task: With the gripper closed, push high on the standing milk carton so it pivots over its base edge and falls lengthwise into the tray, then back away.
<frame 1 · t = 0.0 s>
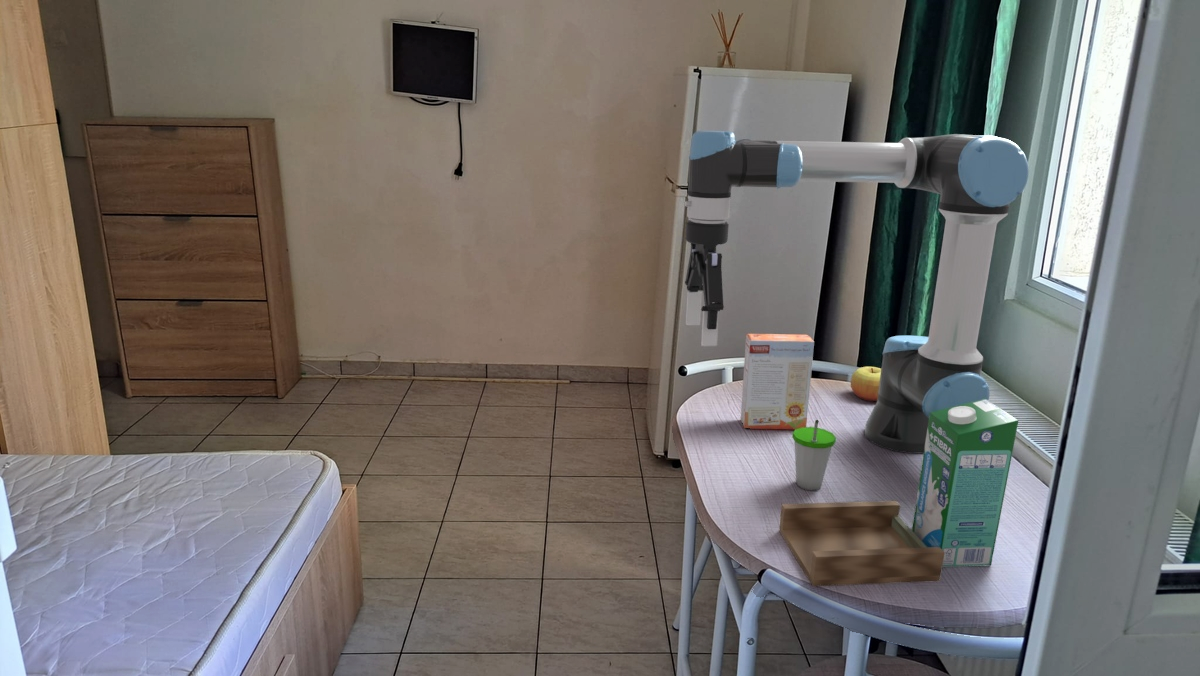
hand: (700, 334, 145), 28 cm above the table, fingers open, 13 cm apart
cup: (808, 485, 149), on the table
apple: (869, 398, 195), on the table
cracker box: (772, 425, 177), on the table
milk carton: (949, 552, 127), on the table
tray: (855, 554, 126), on the table
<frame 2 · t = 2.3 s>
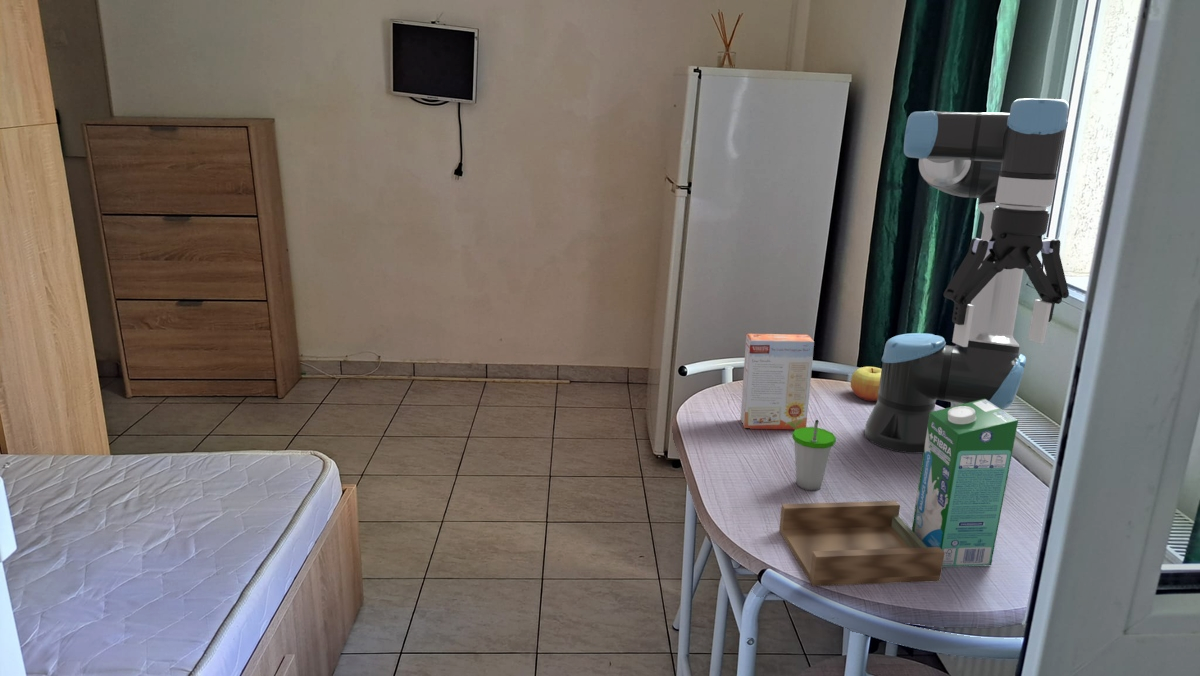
hand: (998, 343, 122), 34 cm above the table, fingers open, 13 cm apart
nothing on the table moved.
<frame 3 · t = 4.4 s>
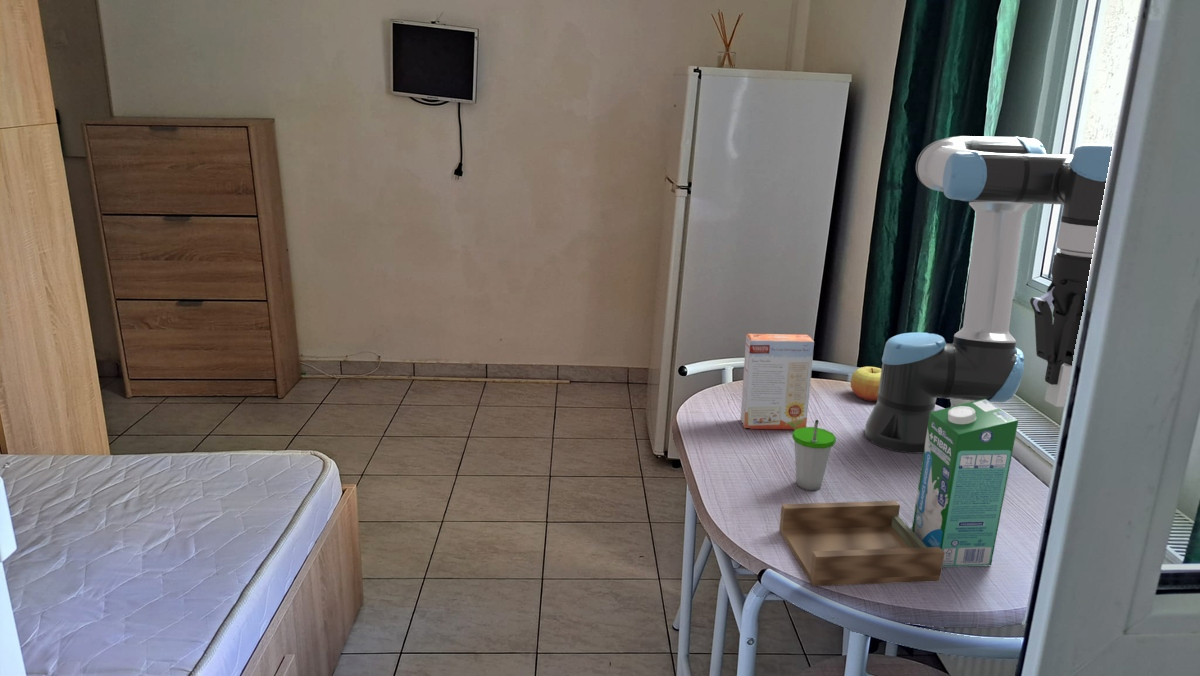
hand: (1054, 403, 121), 26 cm above the table, fingers closed
nothing on the table moved.
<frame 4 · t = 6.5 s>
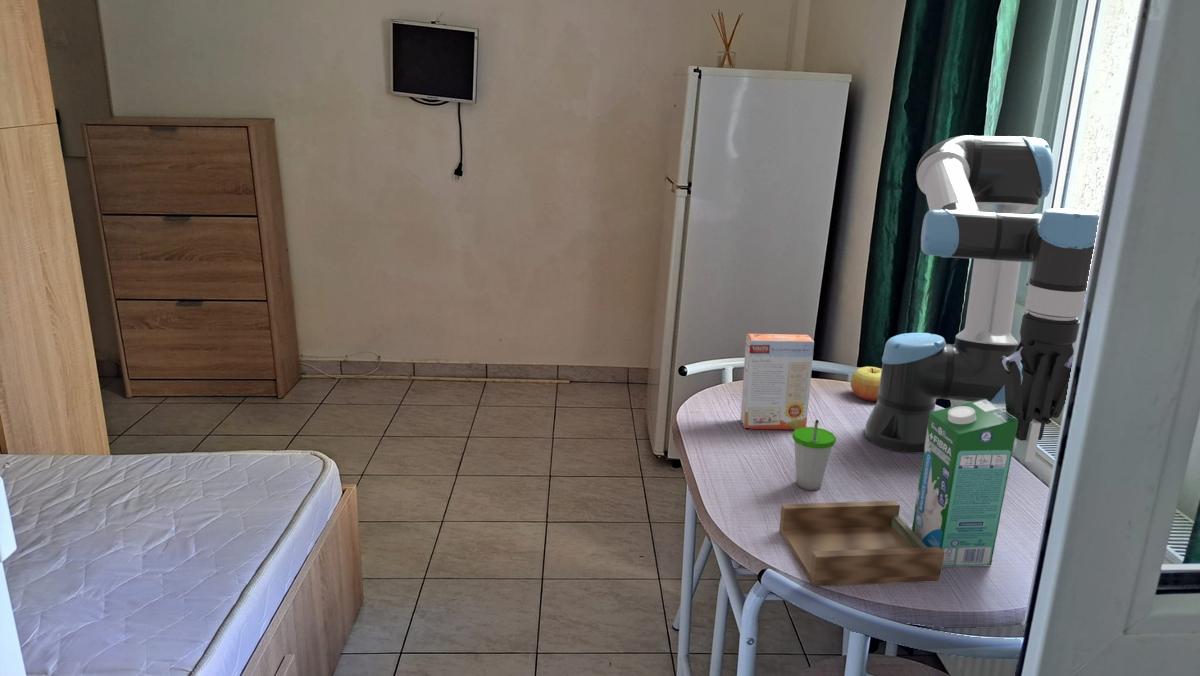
hand: (1023, 457, 124), 16 cm above the table, fingers closed
nothing on the table moved.
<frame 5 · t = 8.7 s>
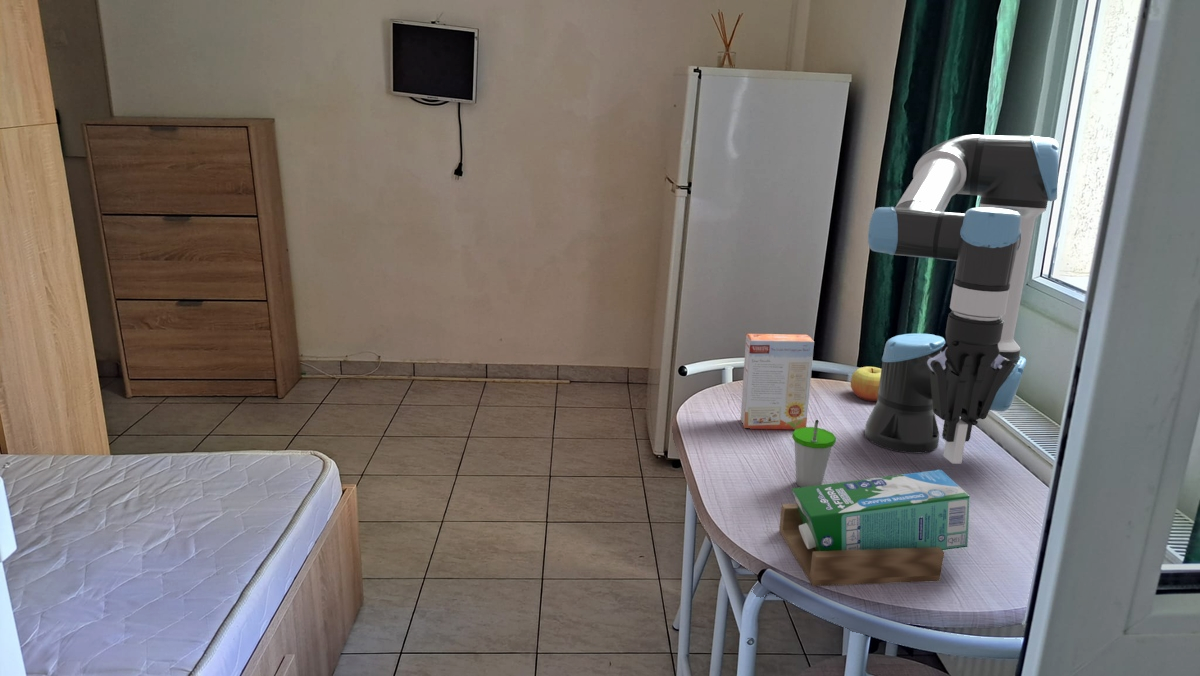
hand: (952, 459, 122), 16 cm above the table, fingers closed
milk carton: (955, 507, 124), point 8 cm above the table, touching tray
everything else where it was.
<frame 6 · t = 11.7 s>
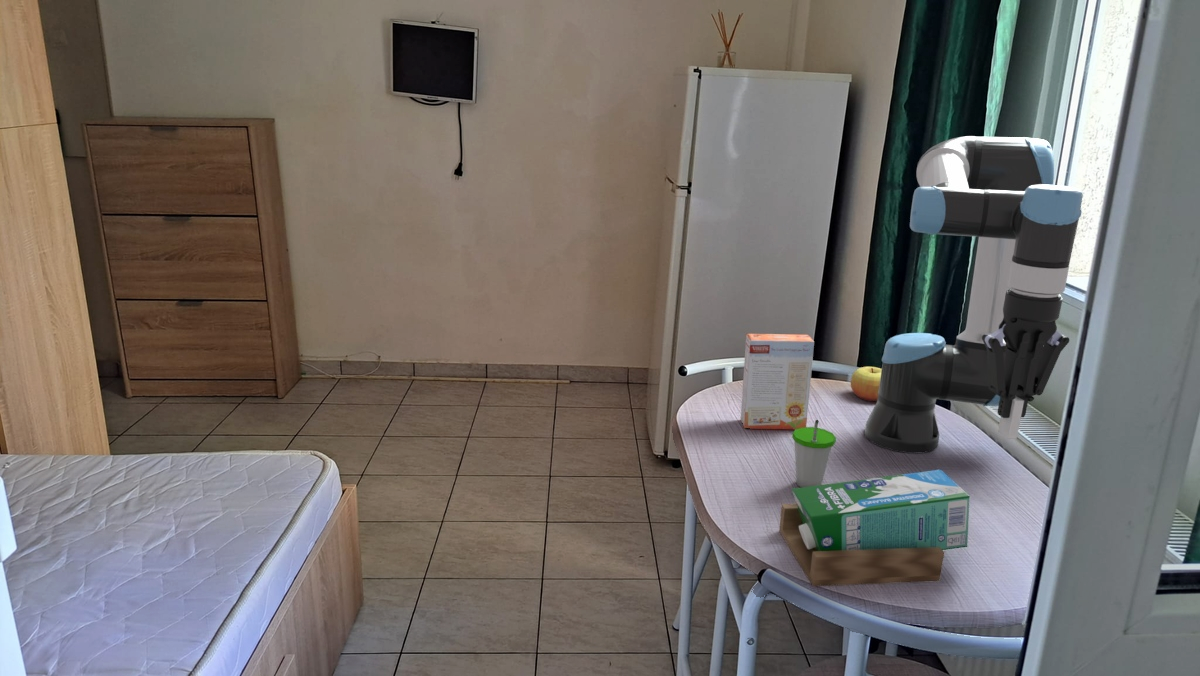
hand: (1007, 435, 124), 20 cm above the table, fingers closed
nothing on the table moved.
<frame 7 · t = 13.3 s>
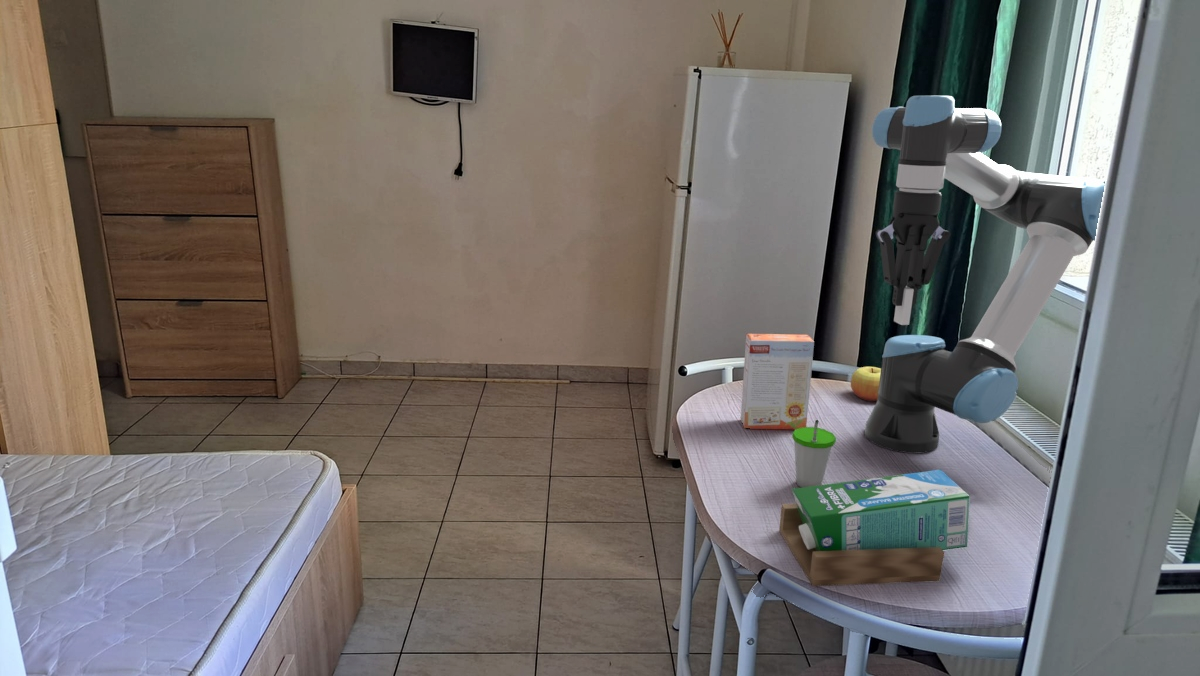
hand: (901, 322, 140), 32 cm above the table, fingers closed
nothing on the table moved.
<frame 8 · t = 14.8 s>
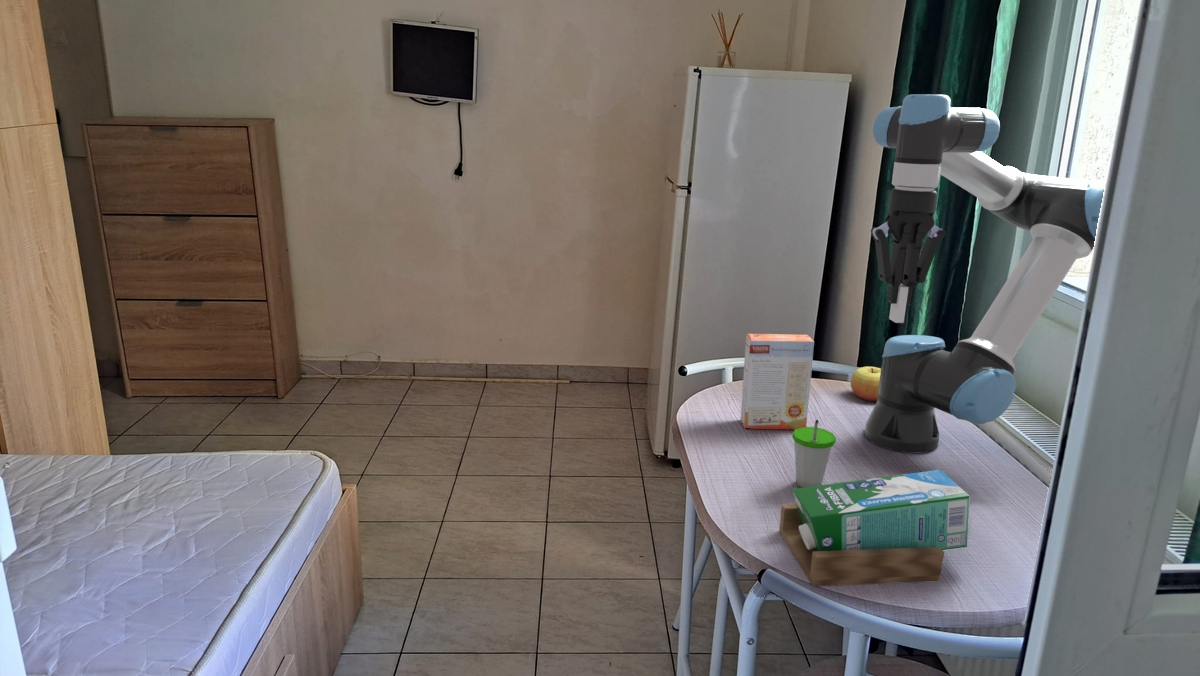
hand: (896, 320, 141), 32 cm above the table, fingers closed
nothing on the table moved.
at the end: milk carton tilted 97°; milk carton inside the target area (12.4 cm from its centre), point 8.3 cm above the table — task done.
